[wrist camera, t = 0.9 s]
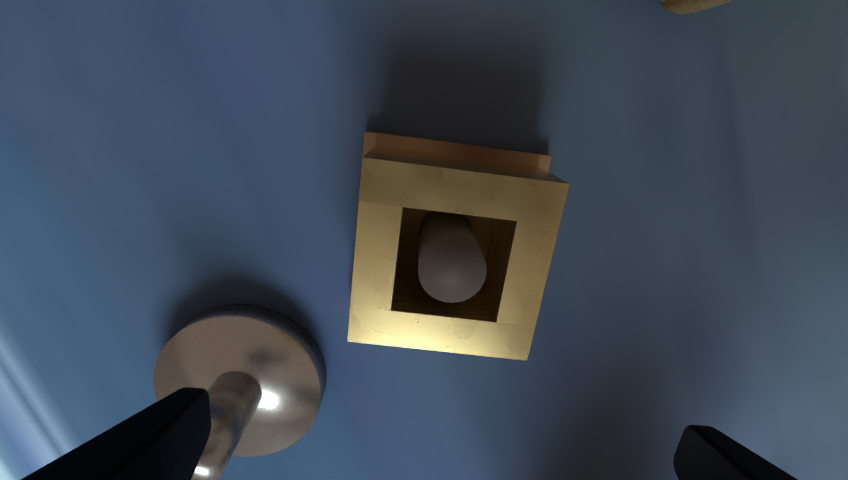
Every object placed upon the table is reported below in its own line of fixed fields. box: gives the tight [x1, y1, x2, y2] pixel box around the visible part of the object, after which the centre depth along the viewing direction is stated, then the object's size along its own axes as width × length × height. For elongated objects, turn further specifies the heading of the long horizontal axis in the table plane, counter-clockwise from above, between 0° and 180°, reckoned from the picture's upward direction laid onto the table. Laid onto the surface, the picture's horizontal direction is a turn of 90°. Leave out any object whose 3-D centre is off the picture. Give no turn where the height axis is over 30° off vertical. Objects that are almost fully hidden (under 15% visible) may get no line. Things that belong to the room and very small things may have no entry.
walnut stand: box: [350, 131, 552, 303], centre depth 17 cm, size 8×8×5 cm
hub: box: [154, 304, 326, 480], centre depth 19 cm, size 8×8×6 cm
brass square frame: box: [348, 145, 570, 361], centre depth 17 cm, size 7×7×4 cm
